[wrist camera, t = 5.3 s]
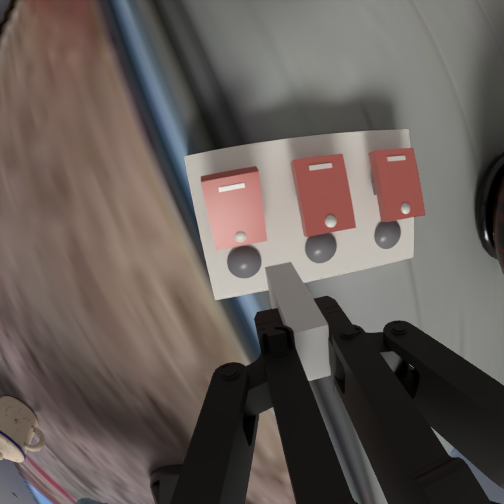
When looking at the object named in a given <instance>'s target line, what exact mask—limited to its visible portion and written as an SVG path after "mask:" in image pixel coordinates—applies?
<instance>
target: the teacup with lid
mask: <svg viewBox="0 0 504 504" xmlns="http://www.w3.org/2000/svg"><path fill="white" fill-rule="evenodd" d="M37 427H38V420H37V418H36V416H35V415H34V413H33V412H32V411H31V410H30V409H29V408H28V407H27V406H26V405H25V404H23V403H22V402H21V401H19V400H17V399H15V398H13V397H11V396H3V397H1V398H0V460H2V459H3V458H5V459H9V460H12V461H15V462H22V461H24V460H25V458H26V456H25V454H26V452H27V450H30V451H39V450H41V449H42V448H43V446H44V443H45V439H44V435H43V433H42V432H41V431H40V430H39V429H38V428H37ZM35 433H37V434H39V435H40V441H39V443H38V444H37V445H34V446H31V445H30V443H31V440H32V438H33V436H34V434H35Z"/></svg>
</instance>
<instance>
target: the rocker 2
mask: <svg viewBox="0 0 504 504" xmlns="http://www.w3.org/2000/svg"><path fill="white" fill-rule="evenodd" d="M290 164H291V169H292V174H293V179H294V184H295V190H296V195H297V200H298V206H299V211H300V217H301V223H302V228H303V234H304V236H305V237H309V236H315V235H320V234H325V233H331V232H336V231H341V230H347V229H352V228H356V223H355V217H354V211H353V205H352V199H351V194H350V188H349V183H348V178H347V173H346V168H345V163H344V158H343V154H334V155H325V156H317V157H309V158H301V159H294V160H292V161H291V162H290Z"/></svg>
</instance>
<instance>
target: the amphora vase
mask: <svg viewBox="0 0 504 504" xmlns="http://www.w3.org/2000/svg"><path fill="white" fill-rule="evenodd" d="M477 228H478V234H479V238H480V241H481V243H482V246H483V248H484V249H485V251H486V252H487V253H488V254H489V255H490V256H491V257H493V258H495V259H497V260H498V261H499V264H500V266H501V269H502V272H503V274H504V152H503V153H502V154H500V155H499V156H497V157H496V158H495V159H494V161H493V162H492V163H491V164H490V166H489V167H488V169H487V171H486V173H485V175H484V177H483V180H482V183H481V187H480V190H479V194H478V202H477Z"/></svg>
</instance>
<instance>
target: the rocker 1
mask: <svg viewBox="0 0 504 504" xmlns="http://www.w3.org/2000/svg"><path fill="white" fill-rule="evenodd" d="M201 186H202V190H203V195H204V199H205V204H206V208H207V213H208V217H209V221H210V226H211V230H212V234H213V239H214V243H215V247H216V250H222V249H227V248H232V247H237V246H243V245H248V244H253V243H258V242H264V241H267V235H266V226H265V218H264V209H263V201H262V193H261V185H260V177H259V171H258V169H257V167H256V166H253V167H247V168H241V169H236V170H230V171H225V172H219V173H214V174H209V175H204V176H201Z"/></svg>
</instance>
